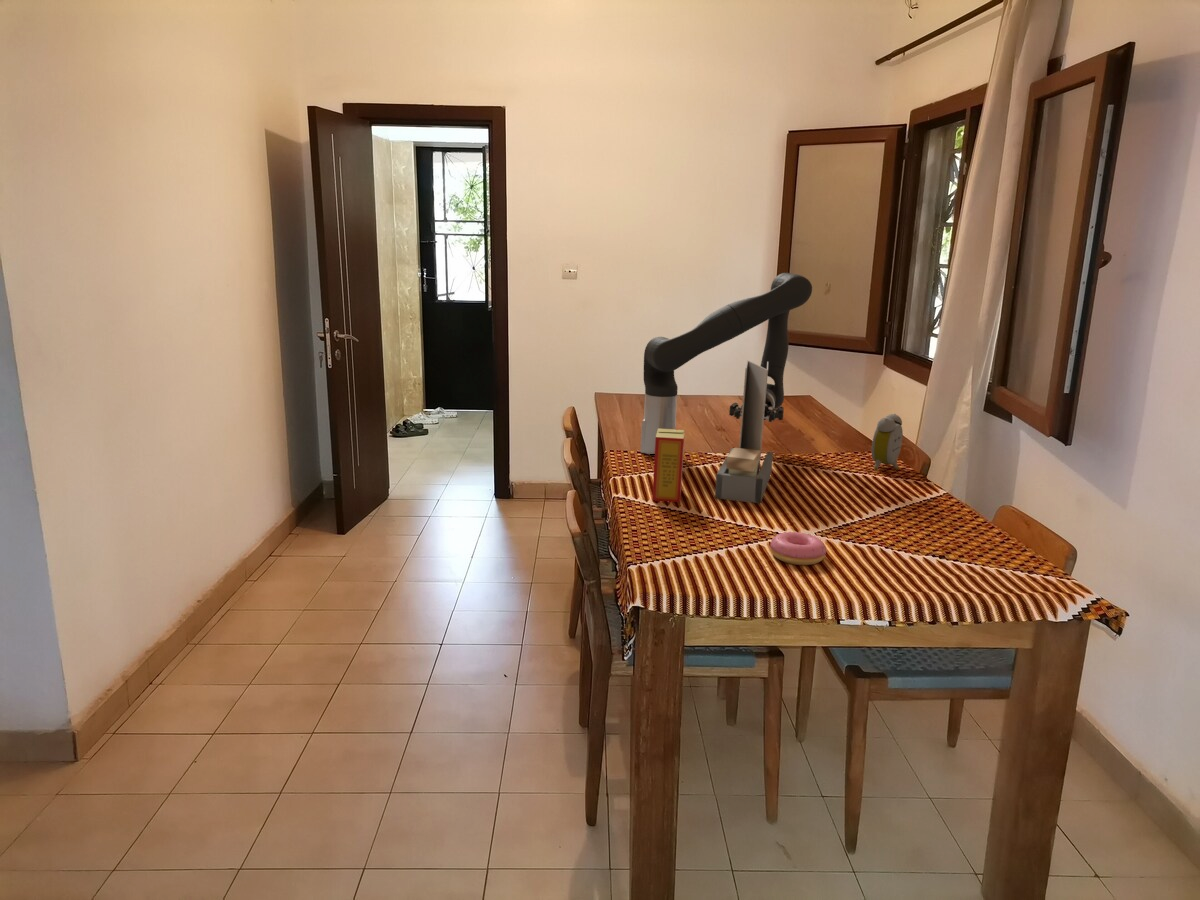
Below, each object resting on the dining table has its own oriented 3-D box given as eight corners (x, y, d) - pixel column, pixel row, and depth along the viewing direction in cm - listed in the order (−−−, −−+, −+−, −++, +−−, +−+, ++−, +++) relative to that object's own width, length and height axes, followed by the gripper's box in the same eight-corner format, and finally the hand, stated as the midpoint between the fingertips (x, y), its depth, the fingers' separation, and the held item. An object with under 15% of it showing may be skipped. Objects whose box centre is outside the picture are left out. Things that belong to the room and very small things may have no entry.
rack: (714, 498, 198) (716, 474, 197) (730, 469, 223) (732, 448, 222) (760, 503, 195) (762, 479, 194) (771, 473, 220) (773, 452, 219)
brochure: (758, 486, 209) (768, 369, 202) (736, 484, 210) (745, 368, 203) (759, 471, 223) (768, 361, 215) (738, 469, 224) (747, 360, 216)
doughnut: (816, 547, 169) (818, 528, 168) (832, 568, 158) (835, 548, 157) (763, 546, 169) (765, 527, 168) (776, 567, 158) (778, 547, 157)
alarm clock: (880, 462, 236) (887, 411, 232) (905, 466, 232) (911, 414, 229) (868, 470, 227) (874, 417, 223) (892, 475, 223) (899, 421, 219)
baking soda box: (679, 502, 194) (683, 437, 190) (652, 500, 195) (655, 435, 191) (681, 491, 203) (684, 428, 199) (654, 489, 204) (658, 426, 200)
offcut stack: (724, 496, 200) (726, 457, 197) (729, 485, 209) (732, 447, 207) (753, 500, 198) (757, 460, 195) (758, 488, 207) (761, 450, 205)
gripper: (735, 389, 231) (727, 400, 215) (787, 394, 227) (783, 404, 212) (733, 416, 232) (725, 427, 217) (785, 420, 229) (780, 433, 214)
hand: (754, 416), depth 215 cm, fingers open, 8 cm apart
